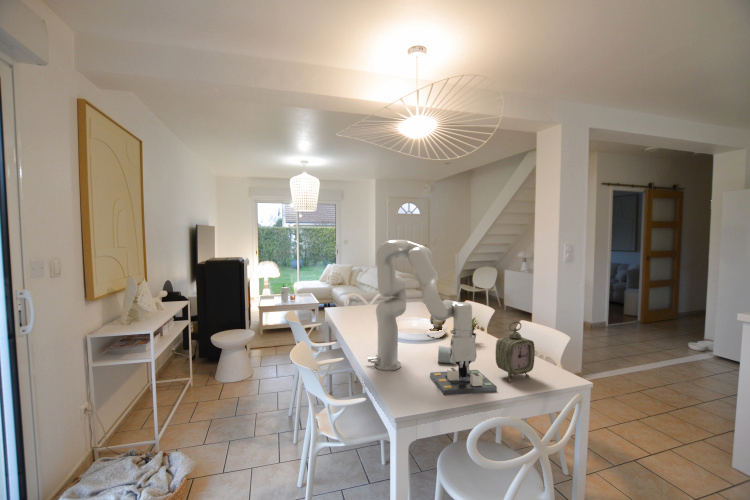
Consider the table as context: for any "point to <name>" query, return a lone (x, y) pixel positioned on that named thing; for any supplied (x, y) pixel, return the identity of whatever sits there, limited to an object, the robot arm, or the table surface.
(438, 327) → the owl figurine
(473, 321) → the house plant
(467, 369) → the far toggle
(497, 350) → the tabletop clock
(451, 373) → the block
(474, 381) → the near toggle
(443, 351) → the ceramic mug
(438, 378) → the board
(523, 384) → the table surface
